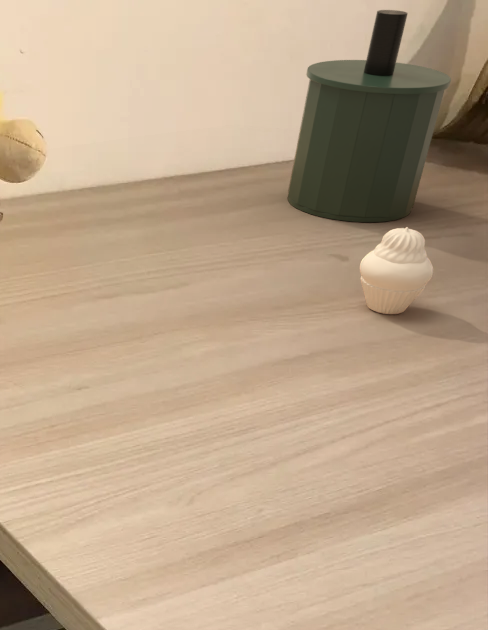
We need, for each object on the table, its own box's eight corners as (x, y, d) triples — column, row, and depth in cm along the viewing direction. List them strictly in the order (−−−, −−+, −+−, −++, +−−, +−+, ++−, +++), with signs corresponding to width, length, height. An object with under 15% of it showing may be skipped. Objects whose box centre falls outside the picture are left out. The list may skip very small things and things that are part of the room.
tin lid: (439, 77, 114) (458, 5, 109) (455, 105, 103) (477, 27, 98) (304, 68, 116) (317, -2, 112) (305, 95, 105) (320, 19, 101)
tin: (405, 191, 121) (437, 71, 113) (416, 227, 111) (451, 97, 103) (287, 182, 123) (310, 63, 115) (286, 216, 113) (311, 88, 105)
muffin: (340, 296, 95) (359, 216, 90) (403, 294, 95) (425, 215, 91) (366, 322, 90) (388, 239, 85) (433, 320, 90) (458, 238, 86)
